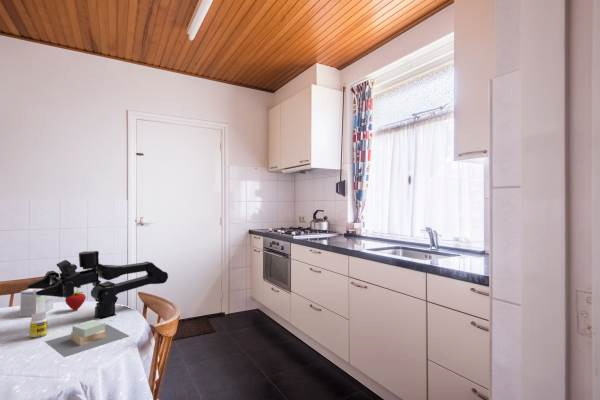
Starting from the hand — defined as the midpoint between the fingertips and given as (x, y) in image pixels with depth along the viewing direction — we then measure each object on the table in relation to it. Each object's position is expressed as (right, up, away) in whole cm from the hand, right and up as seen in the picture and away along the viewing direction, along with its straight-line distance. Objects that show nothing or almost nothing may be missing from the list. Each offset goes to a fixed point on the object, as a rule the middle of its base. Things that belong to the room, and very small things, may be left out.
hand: (31, 290), depth 113 cm
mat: (+22, -17, -2) cm, 28 cm away
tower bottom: (+22, -17, -2) cm, 28 cm away
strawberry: (-4, -17, +27) cm, 32 cm away
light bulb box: (-18, -17, +24) cm, 34 cm away
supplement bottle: (+3, -17, -1) cm, 17 cm away
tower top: (+22, -14, -2) cm, 26 cm away
